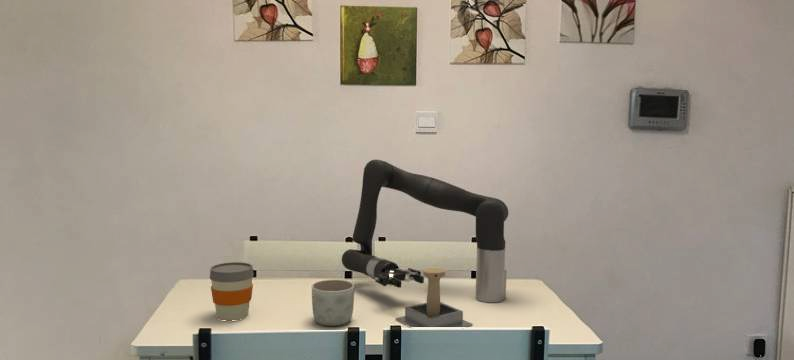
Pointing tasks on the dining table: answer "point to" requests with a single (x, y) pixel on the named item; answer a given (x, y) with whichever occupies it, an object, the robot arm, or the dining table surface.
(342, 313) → the planter
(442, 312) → the grey square tray
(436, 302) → the handle
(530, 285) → the dining table surface
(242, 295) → the reusable coffee cup
